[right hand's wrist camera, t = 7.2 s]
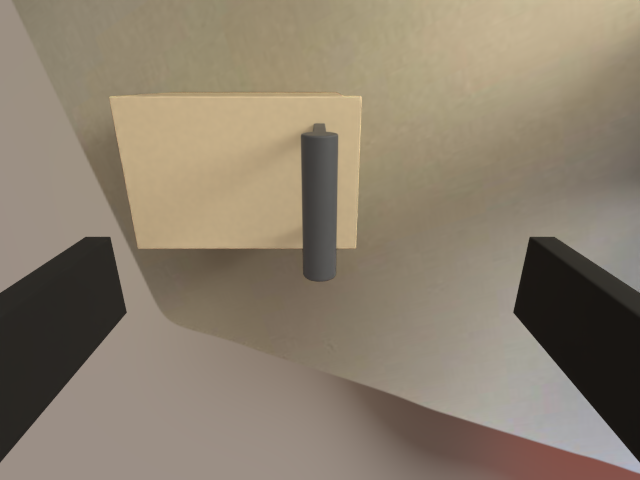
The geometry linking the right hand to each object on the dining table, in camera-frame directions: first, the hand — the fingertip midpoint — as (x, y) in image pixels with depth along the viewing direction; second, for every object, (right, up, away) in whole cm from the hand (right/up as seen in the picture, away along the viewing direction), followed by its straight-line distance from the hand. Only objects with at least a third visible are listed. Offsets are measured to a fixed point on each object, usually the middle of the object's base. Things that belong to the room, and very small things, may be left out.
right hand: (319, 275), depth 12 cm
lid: (-5, +6, +13) cm, 15 cm away
